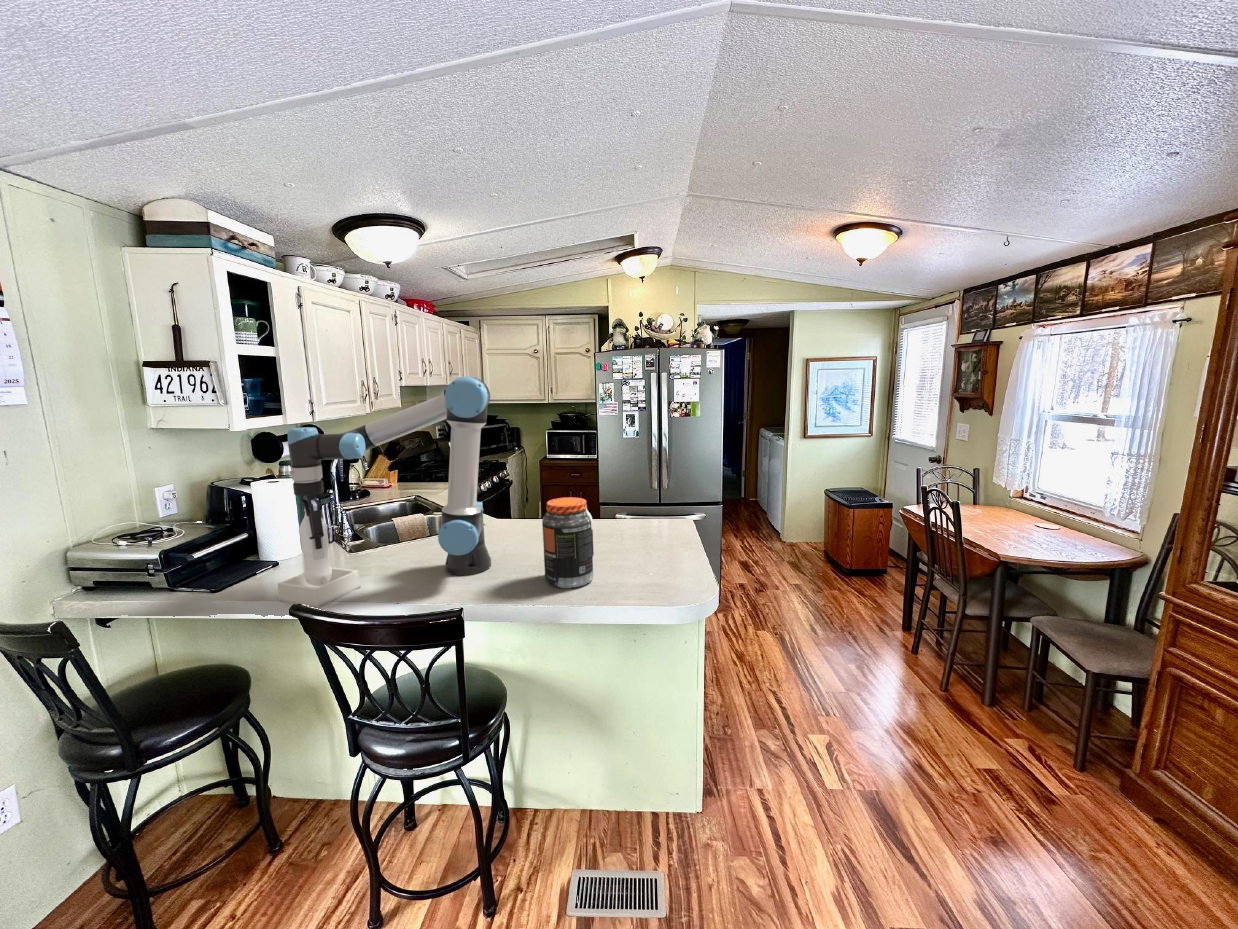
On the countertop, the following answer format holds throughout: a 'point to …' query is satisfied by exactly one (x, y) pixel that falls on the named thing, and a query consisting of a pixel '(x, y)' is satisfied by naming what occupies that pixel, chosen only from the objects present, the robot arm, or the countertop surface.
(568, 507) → the supplement tub
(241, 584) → the countertop surface
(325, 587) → the bin
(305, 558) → the water bottle
